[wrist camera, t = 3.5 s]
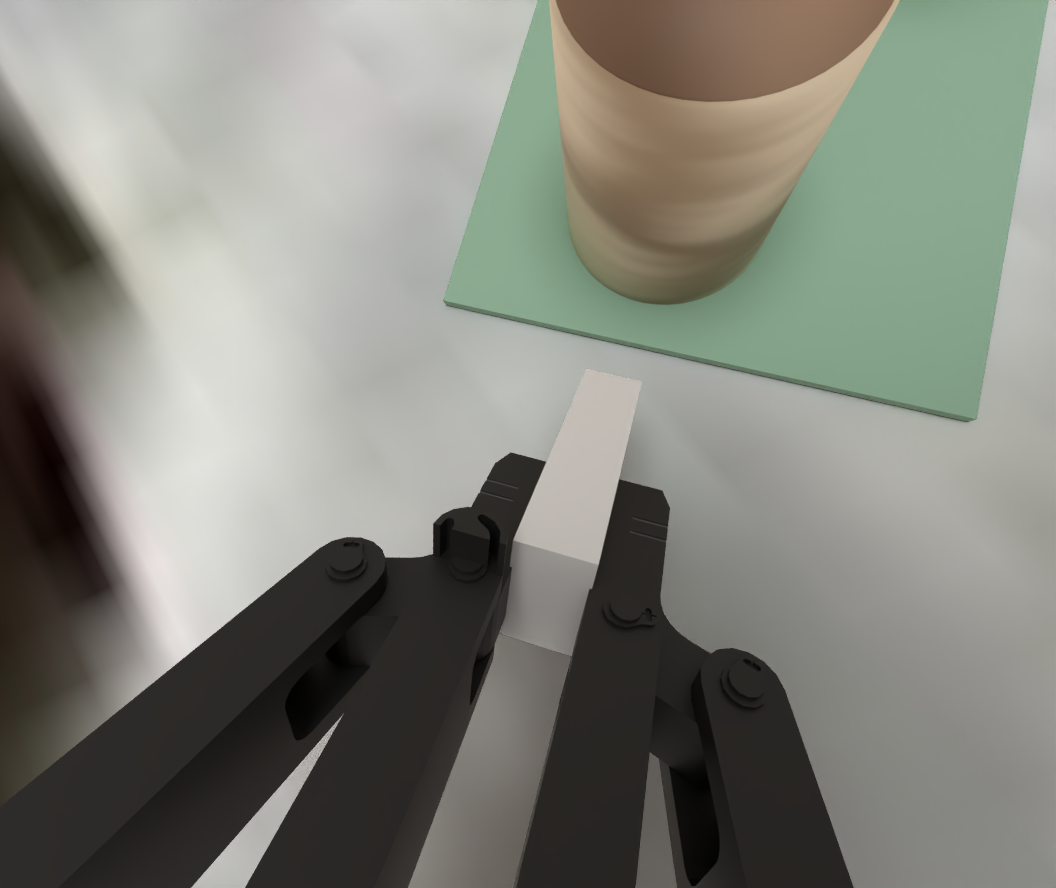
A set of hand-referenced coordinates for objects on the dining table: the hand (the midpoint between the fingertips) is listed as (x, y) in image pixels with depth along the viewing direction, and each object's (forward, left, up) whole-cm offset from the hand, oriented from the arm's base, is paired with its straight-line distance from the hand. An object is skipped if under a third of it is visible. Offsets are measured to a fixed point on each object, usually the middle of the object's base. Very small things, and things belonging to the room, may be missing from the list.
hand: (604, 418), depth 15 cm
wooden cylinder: (0, -9, -4) cm, 9 cm away
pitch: (-2, -15, -4) cm, 15 cm away
